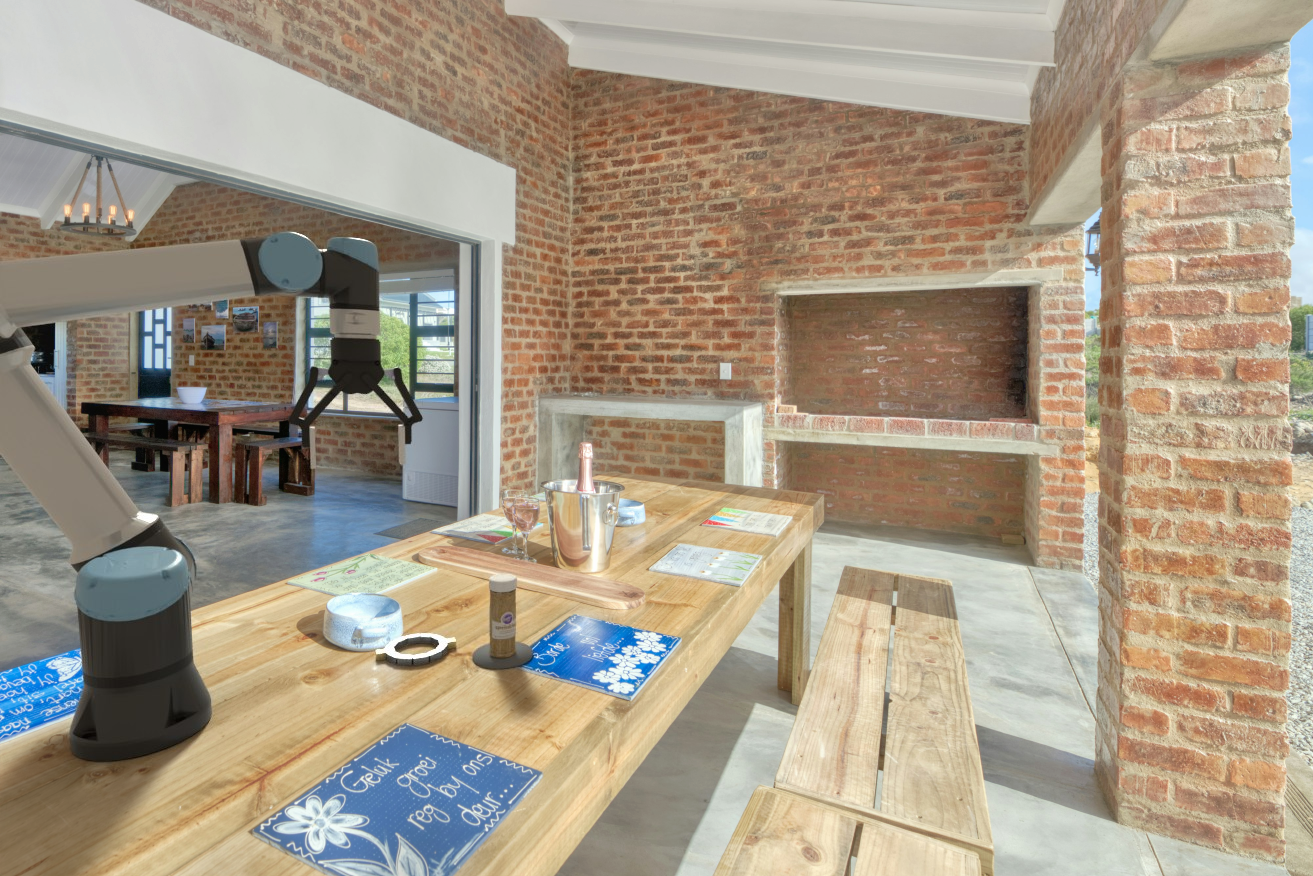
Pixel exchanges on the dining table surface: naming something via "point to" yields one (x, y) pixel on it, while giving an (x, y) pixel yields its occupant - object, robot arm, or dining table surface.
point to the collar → (418, 659)
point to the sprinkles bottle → (502, 615)
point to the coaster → (487, 661)
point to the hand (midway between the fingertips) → (359, 465)
